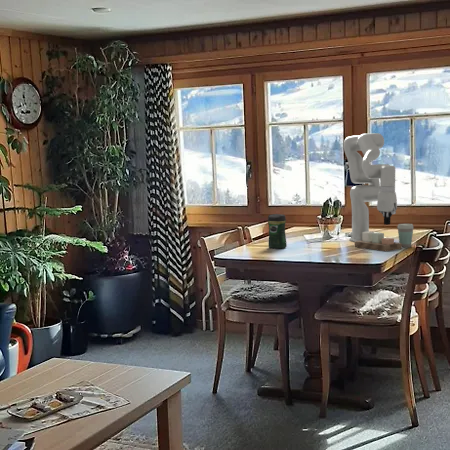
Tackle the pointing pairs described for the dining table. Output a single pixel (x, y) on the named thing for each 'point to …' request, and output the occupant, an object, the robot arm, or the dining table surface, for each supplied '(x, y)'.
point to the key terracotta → (388, 241)
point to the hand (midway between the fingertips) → (387, 224)
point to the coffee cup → (405, 234)
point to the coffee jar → (277, 231)
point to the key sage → (377, 237)
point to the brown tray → (378, 246)
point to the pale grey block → (367, 236)
